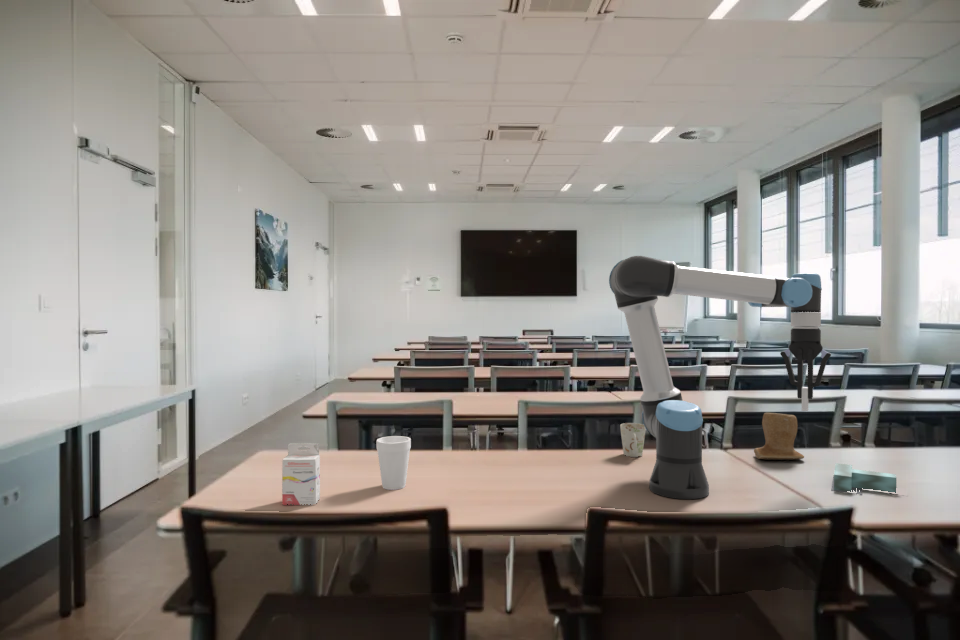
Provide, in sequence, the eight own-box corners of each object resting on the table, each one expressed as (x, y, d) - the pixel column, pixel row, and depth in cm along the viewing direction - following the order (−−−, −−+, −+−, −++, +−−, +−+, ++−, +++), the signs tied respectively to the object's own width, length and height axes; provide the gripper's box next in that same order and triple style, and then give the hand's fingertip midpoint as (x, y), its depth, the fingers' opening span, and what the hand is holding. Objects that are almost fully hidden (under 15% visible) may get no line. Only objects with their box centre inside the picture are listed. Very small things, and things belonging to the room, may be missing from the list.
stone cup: (790, 454, 199) (791, 409, 199) (809, 463, 187) (809, 415, 187) (744, 453, 200) (745, 409, 199) (760, 462, 188) (760, 415, 188)
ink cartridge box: (281, 506, 149) (280, 447, 148) (287, 499, 154) (286, 443, 153) (316, 505, 149) (315, 447, 149) (320, 499, 154) (320, 442, 154)
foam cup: (378, 492, 159) (378, 444, 159) (375, 483, 168) (374, 437, 168) (413, 489, 162) (413, 442, 161) (408, 480, 170) (408, 435, 170)
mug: (643, 452, 202) (643, 423, 202) (650, 461, 190) (650, 430, 190) (618, 451, 203) (618, 422, 203) (623, 461, 191) (623, 430, 190)
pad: (831, 490, 159) (831, 490, 159) (833, 475, 173) (833, 475, 173) (909, 501, 150) (909, 501, 150) (904, 484, 164) (904, 484, 164)
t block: (833, 489, 160) (833, 474, 160) (835, 476, 172) (835, 463, 172) (897, 498, 152) (897, 482, 152) (894, 484, 164) (894, 470, 164)
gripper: (832, 327, 169) (832, 410, 169) (781, 327, 176) (781, 406, 176) (831, 328, 163) (830, 414, 163) (778, 327, 170) (777, 409, 170)
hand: (804, 410), depth 170 cm, fingers closed
